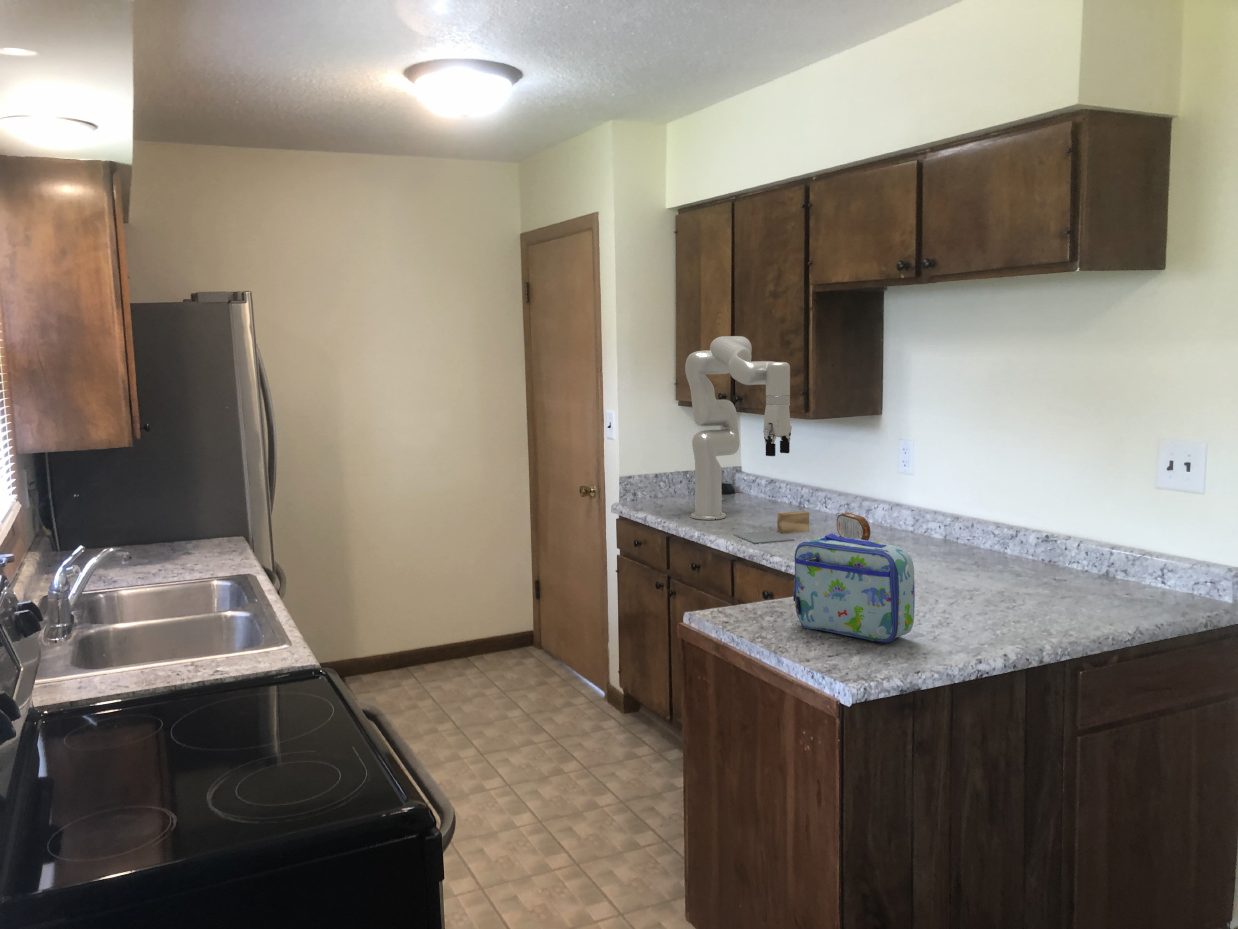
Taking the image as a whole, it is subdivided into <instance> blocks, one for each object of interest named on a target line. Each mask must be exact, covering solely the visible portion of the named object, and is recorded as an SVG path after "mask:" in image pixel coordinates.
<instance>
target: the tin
mask: <svg viewBox="0 0 1238 929" xmlns="http://www.w3.org/2000/svg"><path fill="white" fill-rule="evenodd" d="M836 530H837V532H838V536H839V537H842V538H851V539H859V540H867V541H870V537H871V526H870V524H869V521H868V520H867V519H866V518H865V517H864V516H863V515H862V516H861V515H858V514H854V513H852V512H844V513H840V514H838V516H837V517H836Z"/></svg>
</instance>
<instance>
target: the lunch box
mask: <svg viewBox="0 0 1238 929" xmlns="http://www.w3.org/2000/svg"><path fill="white" fill-rule="evenodd" d="M794 552H795V553H794V578H793V584H794V585H793V598H792V599H793V602H794V605H795V614H796V615H797V618H798V620H799V622H800V624H801V625H802V627H803V628H805V629H807V630H816V631H817V630H818V631H823V632H828V633H834V634H837V635H841V636H846V637H847V636H848V637H851V638H856V639H861V640H868V641H871V642H878V643H886V644H888V643H891V642H893V641H894V640H895V639H896V638H899V637H903V636H905V635H907V634H909V633H910V632H911V631H912V629H913V627H914V621H915V593H916V592H915V589H916V588H915V566H914V562H913V560H912V557H911V555H910V554H909V552H907V551H906V550H905V549H904V548H901V547H898V546H897V545H896V546H895V545H891V544H889V543H883V542H879V541H872V540H868V541H867V540H859V539H851V538H842V537H841V536H839V535H836V534H834V533H833V532H832V533H828V534H826V535H825V536H822V537H818V538H816V539H811V540H808V541H803V542H800V543H799V544H798V545H797V546H796V549H795V551H794Z"/></svg>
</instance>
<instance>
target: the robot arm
mask: <svg viewBox="0 0 1238 929" xmlns="http://www.w3.org/2000/svg"><path fill="white" fill-rule="evenodd" d="M752 347H753V346H752V343H751V341H750V339H748V338H747V337H745V336H743V335H741V336H740V335H732V336H731V335H730V336H727V335H726V336H725V335H724V336H719V337H716V338H715V339H713V340H712V341H711V342H710V345H709V350H698V351H694V352H691V353H690V354H689V355H688V356H687V357H686V361H685V364H684V368H685V369H684V370H685V376H686V379H687V383H688V385H689V390H690V396H691V406H692V415H693V420H694V422H695V425H696V426H699V427H719V428H720V429H707V430H700V431H698V432H696V433H695V434H694V435H693V437H692V441H691V446H692V451H693V457H694V458H693V459H694V487H695V488H694V490H695V491H694V492H695V493H694V499H695V502H694V504H695V505H694V510H695V511H694V512H691V514H690V517H691V518H692V519H696V520H703V521H704V520H706V521H708V520H709V521H712V520H713V521H714V520H715V519H716V520H721V519H725V518H726V517H727V514H726V513H725V512H723V511H722V510H723V508H722V501H723V500H722V498H723V496H722V493H723V492H722V491H723V490H722V477H723V476H722V474H723V472H722V466H721V464H720V462H719V461H718V459H717V457H723V456H732V455H734V454H737V452H738V451H739V449H740V432H739V431H740V430H739V423H738V414H737V409H736V407H735V405H734V403H733V402H732V401H731V400H729V399H717V398H716V394H715V387H714V385H713V383H712V381H711V380H710V379H709V377H707V376H706V375H726V374H730V376H731V378H732V379H734V380H735V381H737V382H738V383H740V384H743V385H746V386H754V385H755V386H756V385H765V410H764V418H763V420H764V421H763V430H762V431H763V439H764V444H765V456H766V457H776V443H775V442H776V440H777V438H780V440H779V453H780V454H790V447H791V445H790V444H791V443H790V441H791V436H792V435H791V434H792V426H791V413H790V412H791V411H790V406H791V399H790V398H791V366H790V364H789V363H788V362H784V361H772V360H771V361H769V360H767V361H766V360H762V361H758V360H756V361H754V360H753V361H752V357H753V356H752V352H753V351H752V350H753V348H752Z"/></svg>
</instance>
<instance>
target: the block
mask: <svg viewBox="0 0 1238 929" xmlns="http://www.w3.org/2000/svg"><path fill="white" fill-rule="evenodd" d="M776 516H777V518H776V520H777V521H776V527H777V528H776V531H777V533H779V532H780V534H782V535H784V534H783V533H785V534H795V533H794V532H796V533H805V532H810V512H808V511H806V510H798V511H784V512H783V511H782V512H777V515H776Z"/></svg>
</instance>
